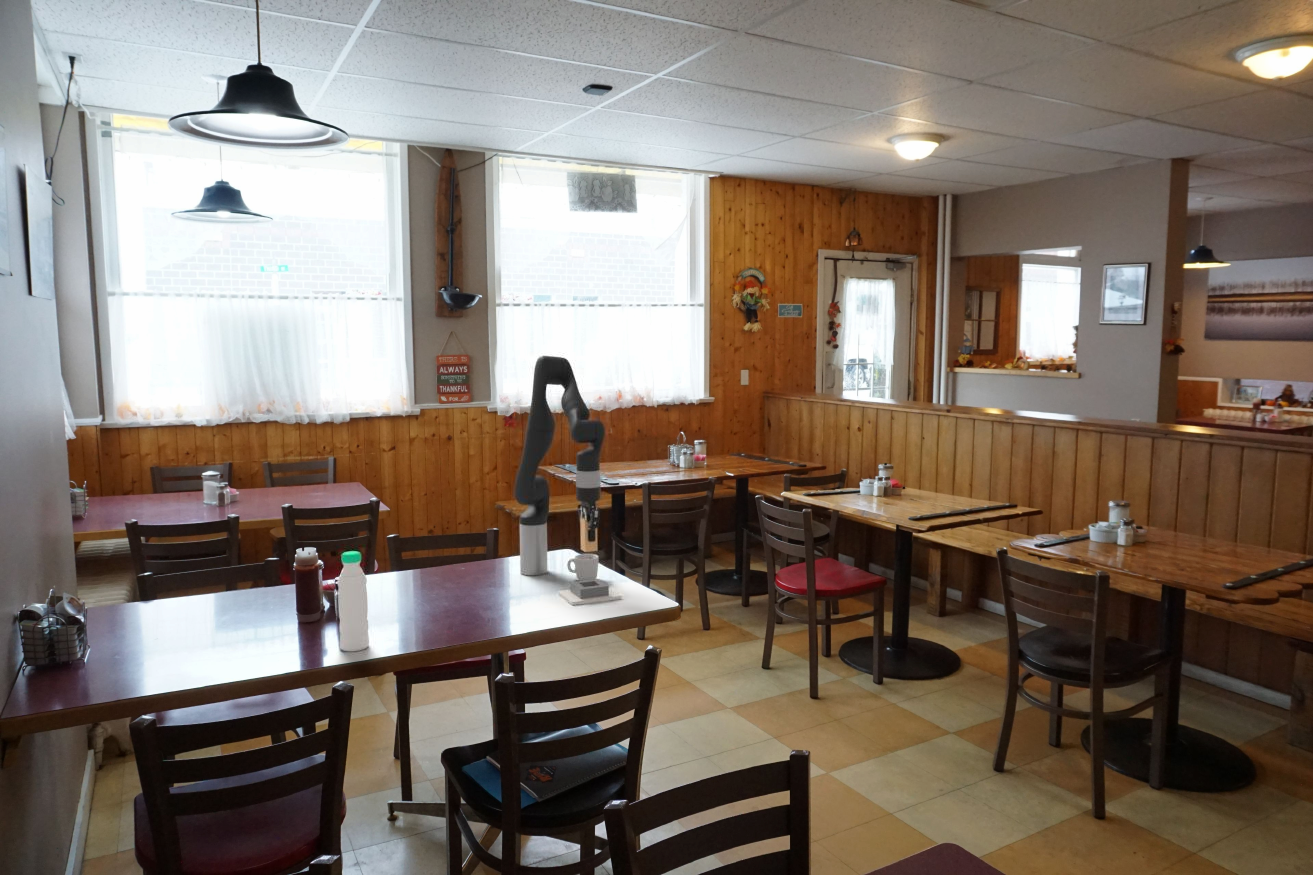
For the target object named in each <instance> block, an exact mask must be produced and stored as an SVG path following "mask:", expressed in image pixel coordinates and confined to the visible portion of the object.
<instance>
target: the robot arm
mask: <svg viewBox="0 0 1313 875" xmlns="http://www.w3.org/2000/svg"><path fill="white" fill-rule="evenodd" d="M532 380H533V383H532V394H531V404H530V408H529V415H528V419H527V423H526V424H527V425H526V430H525V437H524V444H523V449H522V455H521V460H520V463H519V468H518V471H517V475H516V476H515V482H514V486H513V492H514V493H513V494H514V495H513V496H514V499H515V500H516V502H517V503H518V504H519V505H521V506H527V507H526V509H525V511H523V512H522V513H521V514H520V515H519V518H518V519H519V555H520V556H519V558H520V560H519V564H520V567H519V568H520V574H522V575H525V576H541V575H544V574H547V573H548V531H547V529H548V526H547V525H548V516H549V513H550V485H549V482H548V480H547V479H546V478H545V477H544V476H542V475H537V473H538V469H539V466H540V465H541V463H542V461H543V459H544V458H545V457H546V455H547V453H548V452H549V451H550V449H551V447H552V444H553V442H554V441H553V440H554V435H555V430H556V421H555V417H554V415H553V413H552V410H551V408H550V406H549V404H548V400H547V386H548V385H555V386H562V388H563V389H564V391H563V392H562V396H561V400H560V404H561V408H562V410H563V412H564V414H565V416H566V418H567V420H568V425H569V433H570V434H569V435H570V438H571V440H572V441H573V442H574V443H576V444H589V446H588V448H586V449H584V450H581V451H578V452H577V453H576V457H575V458H576V473H575V499H576V501H578V502H580V504H577V506H576V507H577V513H578V514H577V515H578V520H579V523H580V518H584V517H585V520H586V522H587V527H588V541H589V542H594V541H595V529H596V528H597V529H598V528H599V526H600V517H601V511H600V510H598V508H597V504H596V502H598V501H601V497H602V493H601V492H602V491H601V490H602V489H601V483H602V481H601V480H602V479H601V473H600V471H601V470H600V469H601V468H600V457H601V456H600V455H601V451H602V448H603V444H604V440H605V436H606V428H605V425H604V423H603V422H602V421H601V420H600V419H590V417H591V413H590V410H589V408H588V406H587V405H586V403H585V401H584V399H583V398H582V396H581V393H580V391H579V388H578V383H577V381H576V378H575V374H574V371H573V368H572V365H571V363H570V361H569V360H568V359H567V358H565V357H561V356H553V355H551V356H550V355H541V356H538V358H537V359H536V362H535V366H534V371H533V379H532ZM588 518H591V519H588Z"/></svg>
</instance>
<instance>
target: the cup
mask: <svg viewBox="0 0 1313 875" xmlns="http://www.w3.org/2000/svg"><path fill="white" fill-rule="evenodd" d="M571 563H574V569H573V568H572V566H571ZM598 568H599V555H597V554H595V553H580V554H577V555H575V556H574V558H569V560H568V561H567V570H568V571H569V573H573V574H576V575H575V576H576V579H577V581H584V580H592V579H598V578H597V577H598V570H599V569H598Z"/></svg>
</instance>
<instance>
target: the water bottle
mask: <svg viewBox="0 0 1313 875" xmlns="http://www.w3.org/2000/svg"><path fill="white" fill-rule="evenodd" d="M340 557H341V564H342V565H343V568H342V570H341V572H340V575H339V577H338V578H337V587H338V594H337V596H338V598H337V599H338V601H337V602H338V616H339V625H338V626H339V628H338V629H339V637H340V638H339V647H340V649H341V650H342V651H344V652H349V653H350V652H353V653H354V652H359V651H363V650H365V649H367V648H368V647H369V645H370V637H369V620H368V612H369V611H368V610H369V609H368V592H367V591H368V589H367V580H368V579H367V577H366V574H365V573H364V571H363V569H362V567H361V566H360V564H361V562H362V554H361V552H359V551H355V550H350V551H345V552H343V553H342V554H341V556H340Z"/></svg>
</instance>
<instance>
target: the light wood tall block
mask: <svg viewBox="0 0 1313 875" xmlns="http://www.w3.org/2000/svg"><path fill="white" fill-rule="evenodd" d="M588 519H591V518H588ZM579 524H580V525H579V526H580V550H581V551H583V552H584V553H592V552H598V528H596V529H595V541H594V542H589V541H588V527H587V522H586V520H585V517H584V518H580V522H579Z"/></svg>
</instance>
